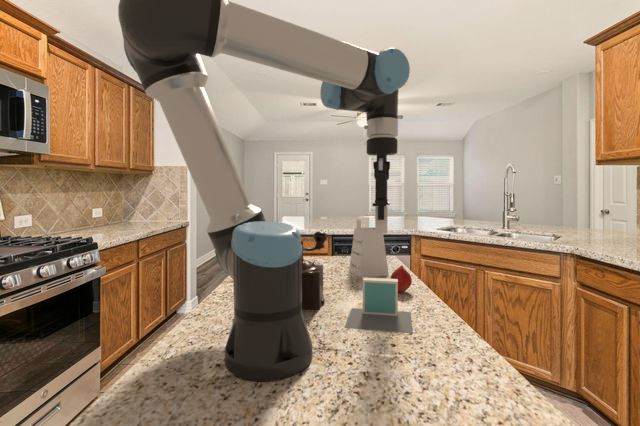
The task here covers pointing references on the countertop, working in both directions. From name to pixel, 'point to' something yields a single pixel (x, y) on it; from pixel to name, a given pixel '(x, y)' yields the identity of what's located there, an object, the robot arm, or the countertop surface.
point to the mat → (380, 321)
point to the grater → (368, 252)
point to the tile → (380, 296)
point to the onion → (402, 279)
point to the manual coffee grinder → (313, 277)
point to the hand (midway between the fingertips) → (381, 231)
